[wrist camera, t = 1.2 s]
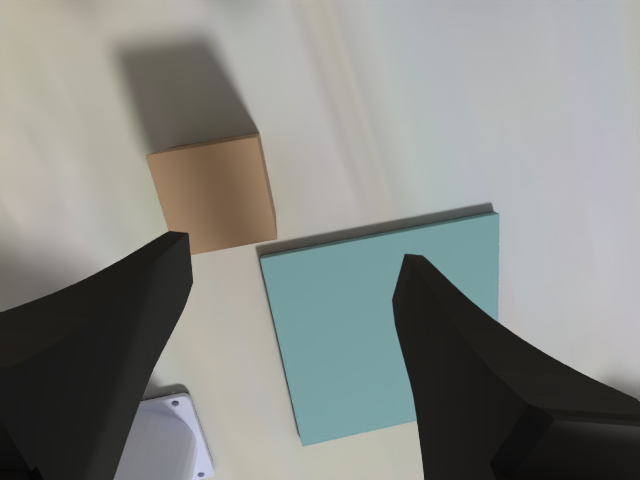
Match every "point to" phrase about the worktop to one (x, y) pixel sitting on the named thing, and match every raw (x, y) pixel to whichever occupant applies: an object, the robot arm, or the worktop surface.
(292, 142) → the worktop surface
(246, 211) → the walnut cube
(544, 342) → the worktop surface
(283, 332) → the mat
